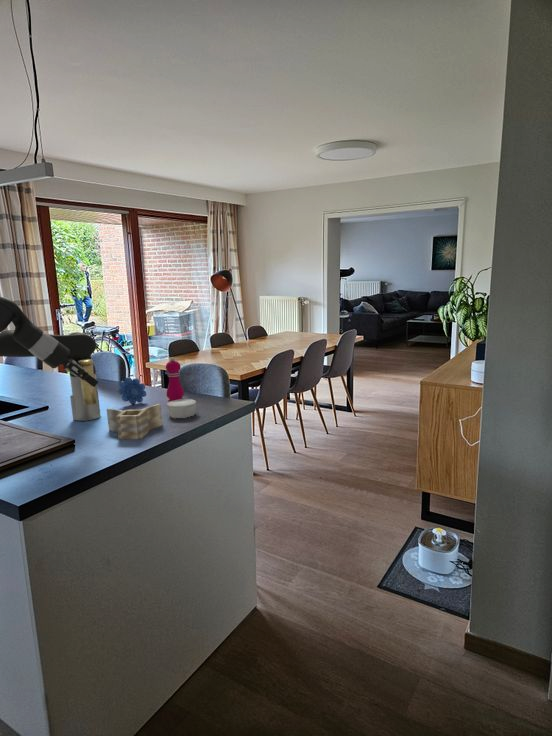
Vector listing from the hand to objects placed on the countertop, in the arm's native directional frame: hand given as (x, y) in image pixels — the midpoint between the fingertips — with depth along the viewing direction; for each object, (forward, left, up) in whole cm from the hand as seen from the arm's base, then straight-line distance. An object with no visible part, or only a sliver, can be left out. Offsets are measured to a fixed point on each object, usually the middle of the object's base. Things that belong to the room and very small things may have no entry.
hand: (94, 382), depth 154 cm
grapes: (-5, +46, -20) cm, 50 cm away
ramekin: (+20, +29, -20) cm, 40 cm away
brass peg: (-2, -1, -6) cm, 7 cm away
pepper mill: (+13, +46, -20) cm, 52 cm away
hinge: (+7, +9, -20) cm, 23 cm away
